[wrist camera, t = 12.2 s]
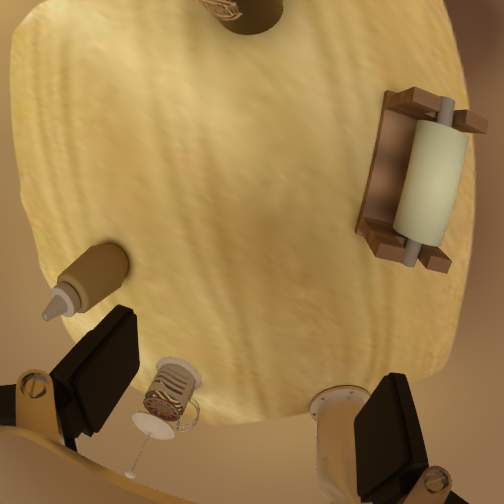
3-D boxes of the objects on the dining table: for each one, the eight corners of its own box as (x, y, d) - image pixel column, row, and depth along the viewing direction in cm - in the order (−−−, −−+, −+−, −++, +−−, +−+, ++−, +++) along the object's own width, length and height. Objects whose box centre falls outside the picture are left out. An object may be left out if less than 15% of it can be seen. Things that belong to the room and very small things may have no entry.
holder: (412, 245, 37) (443, 281, 27) (354, 230, 37) (372, 266, 27) (444, 114, 29) (489, 111, 19) (384, 91, 30) (415, 77, 20)
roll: (397, 249, 34) (436, 270, 29) (374, 255, 30) (419, 281, 26) (432, 102, 26) (477, 113, 22) (413, 85, 22) (466, 96, 18)
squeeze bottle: (101, 278, 48) (37, 335, 31) (93, 235, 44) (18, 284, 28) (138, 283, 46) (75, 349, 30) (131, 238, 43) (55, 294, 27)
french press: (156, 350, 52) (94, 452, 29) (213, 369, 51) (169, 485, 29) (156, 381, 56) (106, 473, 33) (208, 398, 55) (170, 500, 33)
